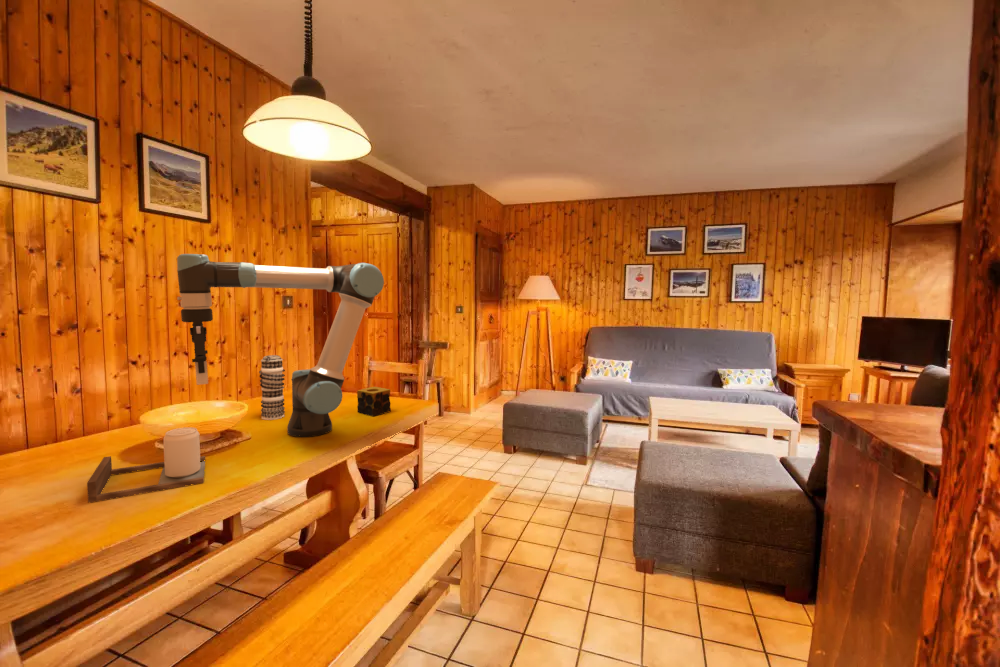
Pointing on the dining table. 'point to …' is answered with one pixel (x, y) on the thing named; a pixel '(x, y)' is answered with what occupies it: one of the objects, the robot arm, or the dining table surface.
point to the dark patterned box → (373, 401)
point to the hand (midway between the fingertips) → (202, 379)
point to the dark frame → (165, 482)
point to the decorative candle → (272, 387)
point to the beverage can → (181, 452)
